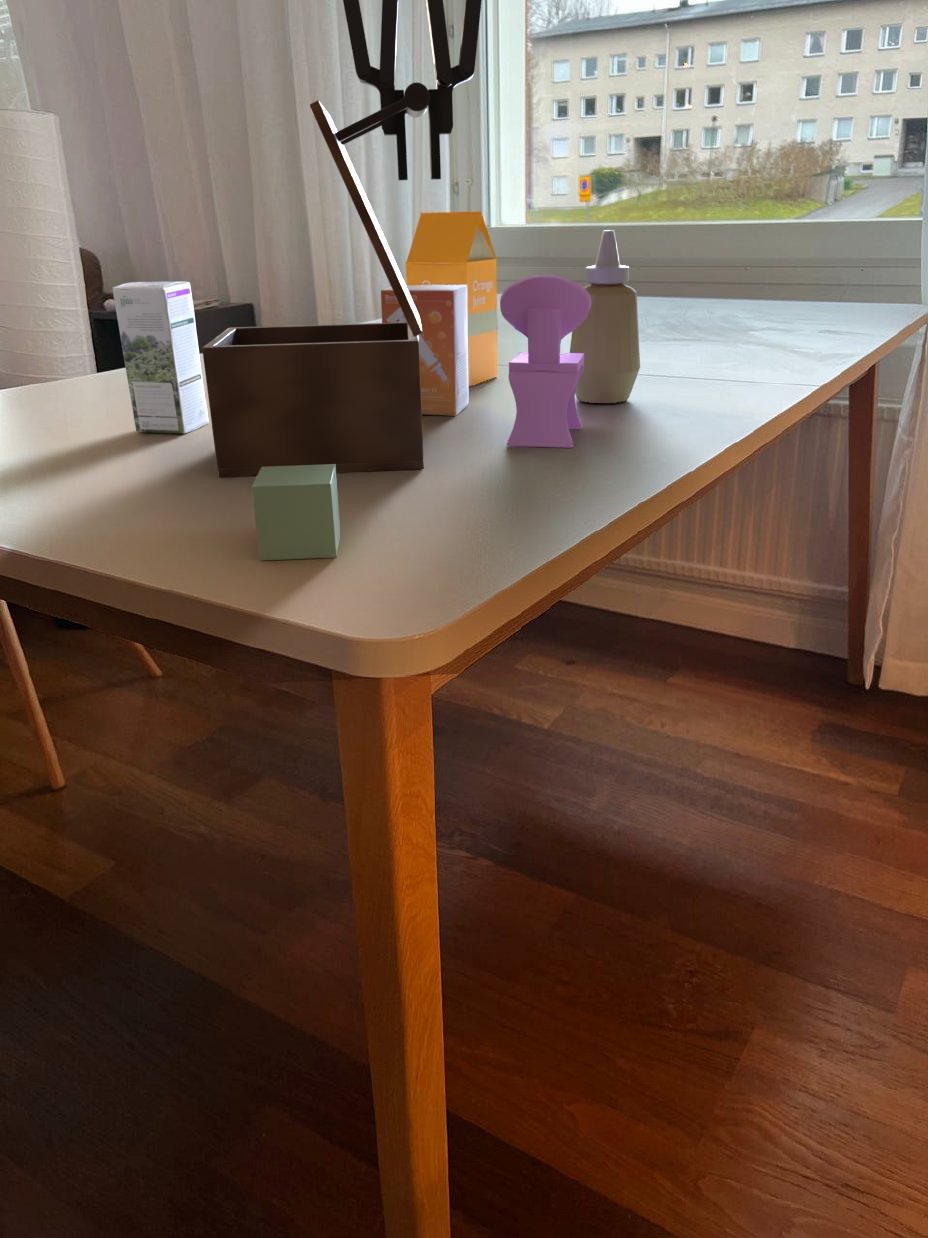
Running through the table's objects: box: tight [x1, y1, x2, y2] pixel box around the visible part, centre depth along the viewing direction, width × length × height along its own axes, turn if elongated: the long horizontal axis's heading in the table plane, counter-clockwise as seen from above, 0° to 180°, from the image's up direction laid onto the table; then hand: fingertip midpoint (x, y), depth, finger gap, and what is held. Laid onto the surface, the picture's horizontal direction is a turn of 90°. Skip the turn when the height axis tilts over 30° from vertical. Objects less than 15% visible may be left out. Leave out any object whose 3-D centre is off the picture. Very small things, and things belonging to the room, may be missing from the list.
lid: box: [308, 81, 430, 337], centre depth 81 cm, size 18×14×9 cm
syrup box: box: [111, 281, 210, 435], centre depth 98 cm, size 6×6×14 cm
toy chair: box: [499, 274, 591, 449], centre depth 90 cm, size 8×9×15 cm
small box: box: [380, 285, 470, 417], centre depth 104 cm, size 8×6×13 cm
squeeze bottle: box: [569, 229, 641, 404], centre depth 106 cm, size 8×8×18 cm
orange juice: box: [405, 211, 499, 387], centre depth 120 cm, size 8×9×20 cm
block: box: [251, 464, 342, 562], centre depth 64 cm, size 5×5×5 cm
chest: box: [201, 322, 425, 478], centre depth 87 cm, size 18×14×11 cm
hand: (419, 178), depth 80 cm, fingers closed on lid, 2 cm apart
